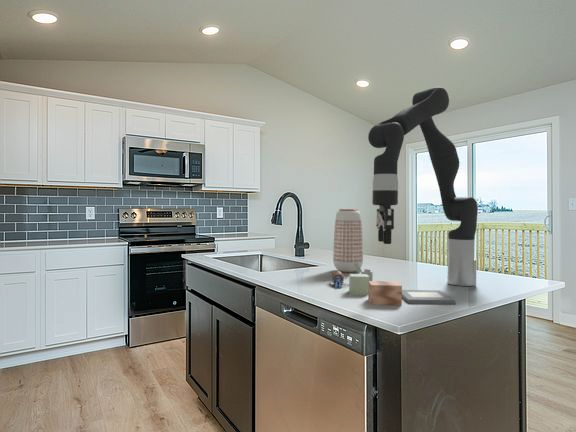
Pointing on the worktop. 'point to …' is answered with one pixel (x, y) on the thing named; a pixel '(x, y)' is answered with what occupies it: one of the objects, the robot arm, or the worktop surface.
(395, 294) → the base block
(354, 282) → the top block
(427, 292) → the baseplate
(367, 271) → the lighter
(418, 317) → the worktop surface
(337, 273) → the figurine
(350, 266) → the patterned vase
